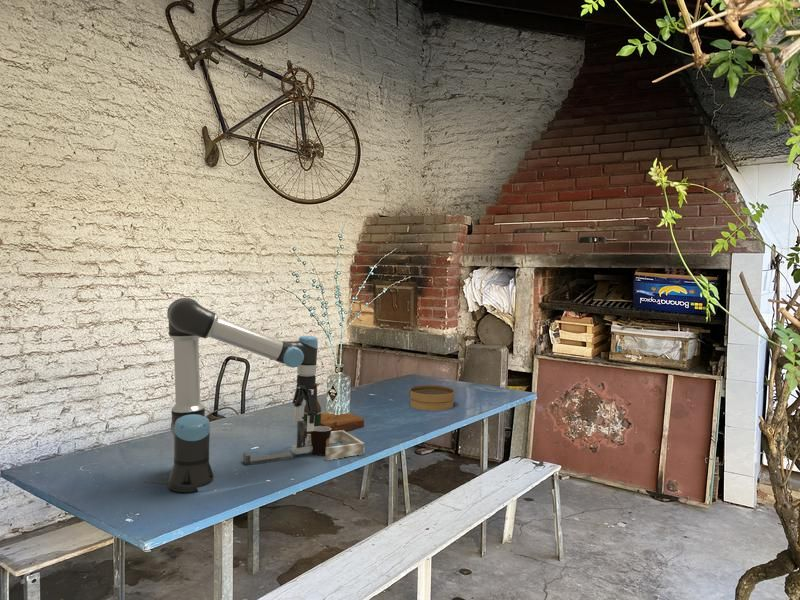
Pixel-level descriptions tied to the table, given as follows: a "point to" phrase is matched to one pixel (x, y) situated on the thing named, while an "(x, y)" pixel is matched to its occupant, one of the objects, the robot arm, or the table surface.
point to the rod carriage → (303, 440)
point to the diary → (341, 421)
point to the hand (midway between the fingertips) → (303, 426)
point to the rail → (265, 458)
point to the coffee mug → (320, 439)
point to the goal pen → (349, 449)
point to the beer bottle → (318, 416)
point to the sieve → (431, 397)
